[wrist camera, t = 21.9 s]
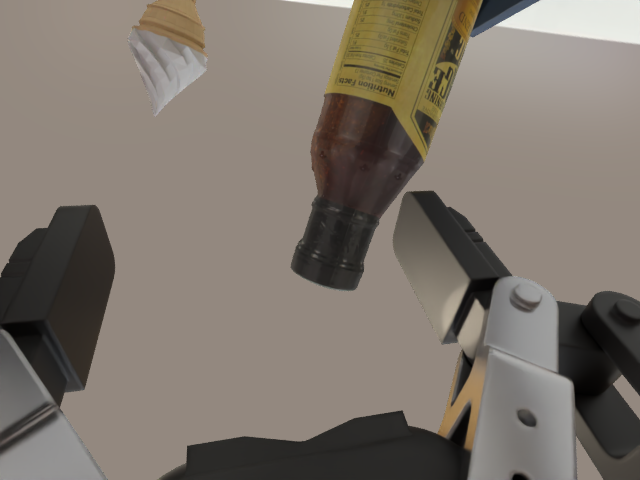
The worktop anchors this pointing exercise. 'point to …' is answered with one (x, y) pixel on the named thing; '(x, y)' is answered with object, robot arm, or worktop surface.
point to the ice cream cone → (168, 49)
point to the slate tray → (497, 13)
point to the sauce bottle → (377, 124)
